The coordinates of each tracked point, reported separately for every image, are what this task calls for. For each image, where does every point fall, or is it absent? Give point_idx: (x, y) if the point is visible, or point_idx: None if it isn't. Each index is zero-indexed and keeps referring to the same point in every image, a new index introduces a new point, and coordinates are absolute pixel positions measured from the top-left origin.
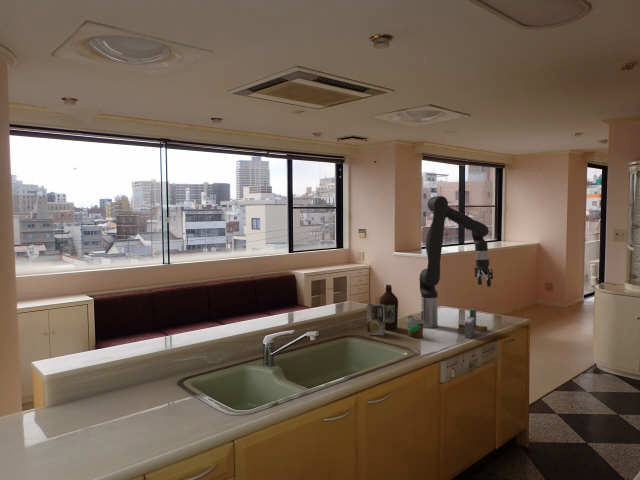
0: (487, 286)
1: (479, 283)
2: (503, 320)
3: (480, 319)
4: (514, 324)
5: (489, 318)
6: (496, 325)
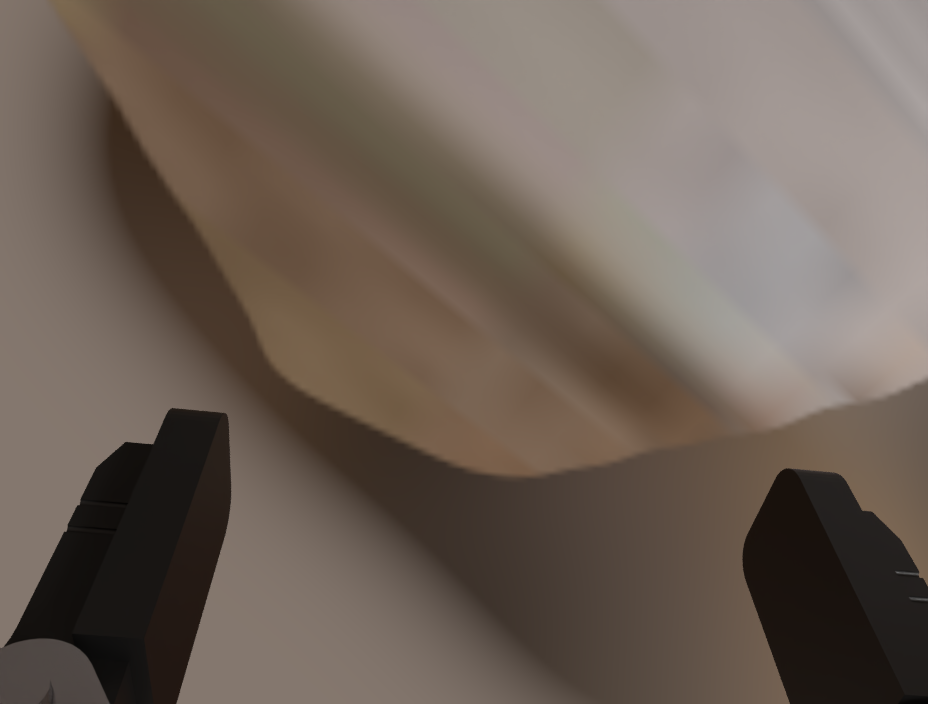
0: (226, 418)
1: (794, 521)
2: (458, 309)
3: (681, 100)
4: (228, 271)
5: (641, 248)
6: (257, 27)
